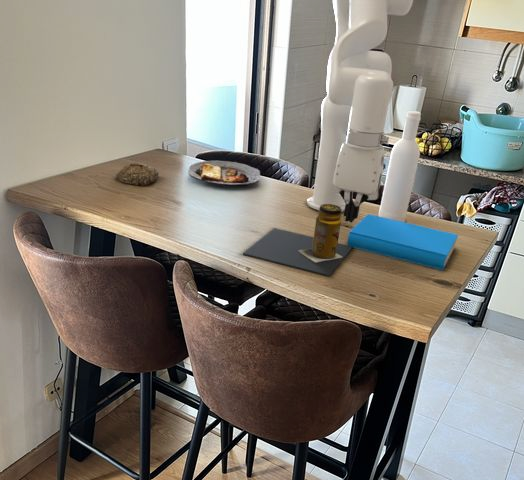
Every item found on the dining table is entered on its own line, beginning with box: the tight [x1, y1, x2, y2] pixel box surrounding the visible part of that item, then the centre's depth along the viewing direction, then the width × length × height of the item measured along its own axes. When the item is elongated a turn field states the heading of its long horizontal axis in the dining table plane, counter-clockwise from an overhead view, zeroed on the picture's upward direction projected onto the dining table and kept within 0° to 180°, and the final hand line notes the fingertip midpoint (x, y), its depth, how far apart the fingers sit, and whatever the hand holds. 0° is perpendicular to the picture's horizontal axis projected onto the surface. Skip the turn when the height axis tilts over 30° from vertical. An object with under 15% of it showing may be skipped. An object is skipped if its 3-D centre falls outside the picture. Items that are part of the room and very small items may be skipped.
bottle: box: [378, 110, 422, 223], centre depth 156 cm, size 8×8×30 cm
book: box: [346, 213, 459, 271], centre depth 147 cm, size 17×4×25 cm
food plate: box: [187, 160, 261, 186], centre depth 185 cm, size 25×23×4 cm
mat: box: [242, 227, 354, 278], centre depth 140 cm, size 20×22×1 cm
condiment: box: [298, 204, 342, 262], centre depth 135 cm, size 7×8×12 cm
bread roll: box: [115, 162, 159, 187], centre depth 176 cm, size 13×12×5 cm
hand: (350, 220), depth 131 cm, fingers closed
